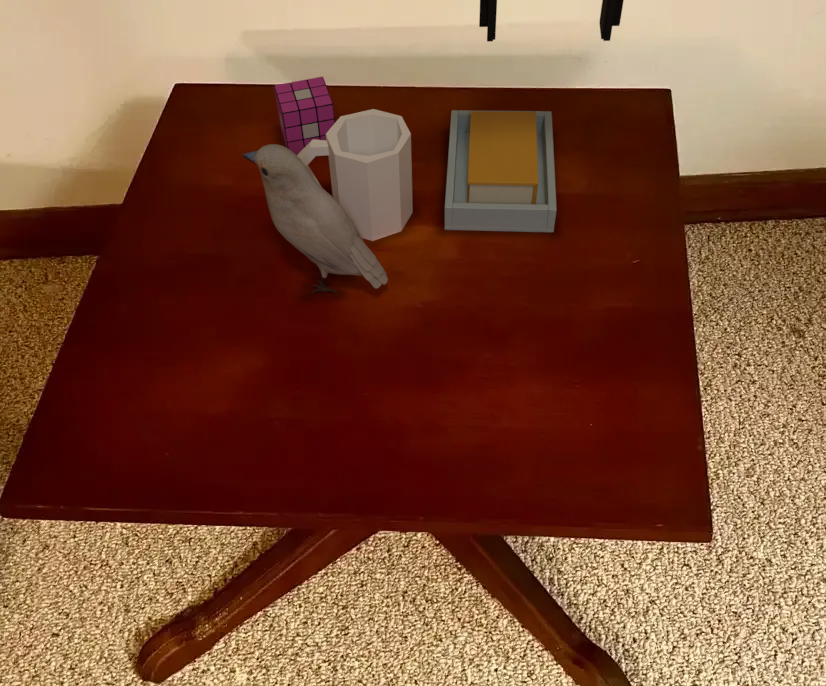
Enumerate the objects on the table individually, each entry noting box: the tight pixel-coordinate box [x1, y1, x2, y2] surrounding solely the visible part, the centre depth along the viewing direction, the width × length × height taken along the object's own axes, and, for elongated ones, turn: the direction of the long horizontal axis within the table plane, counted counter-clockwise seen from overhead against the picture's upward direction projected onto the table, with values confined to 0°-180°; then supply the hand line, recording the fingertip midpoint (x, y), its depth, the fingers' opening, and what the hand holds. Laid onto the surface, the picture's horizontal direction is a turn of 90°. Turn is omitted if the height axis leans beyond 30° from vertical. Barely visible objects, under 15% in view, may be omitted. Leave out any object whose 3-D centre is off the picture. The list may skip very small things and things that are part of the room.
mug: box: [297, 108, 414, 242], centre depth 88 cm, size 12×9×10 cm
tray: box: [443, 109, 558, 233], centre depth 93 cm, size 11×17×3 cm
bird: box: [241, 143, 389, 295], centre depth 81 cm, size 5×14×15 cm, turn 67°
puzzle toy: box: [273, 76, 336, 155], centre depth 99 cm, size 6×6×6 cm
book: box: [467, 110, 538, 204], centre depth 93 cm, size 12×7×4 cm, turn 174°
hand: (547, 32), depth 75 cm, fingers open, 9 cm apart
